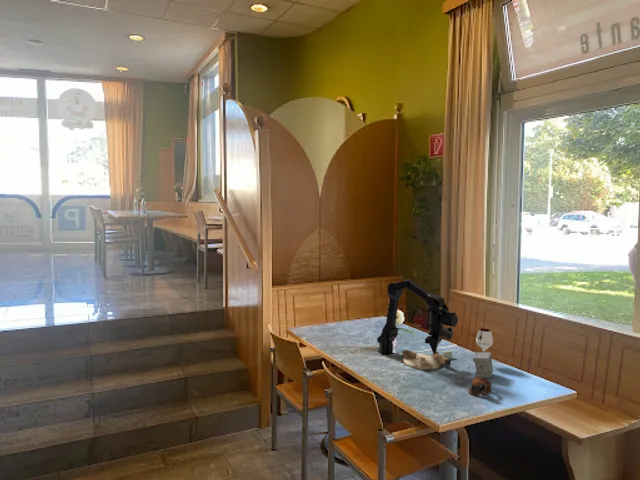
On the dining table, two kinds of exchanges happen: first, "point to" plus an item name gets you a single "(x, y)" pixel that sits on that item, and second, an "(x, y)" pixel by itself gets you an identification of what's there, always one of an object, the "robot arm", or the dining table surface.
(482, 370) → the incense holder
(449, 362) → the folding leg
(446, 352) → the stop cleat
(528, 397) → the dining table surface
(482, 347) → the wineglass
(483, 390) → the reddish brown arched figure
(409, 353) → the stool seat
